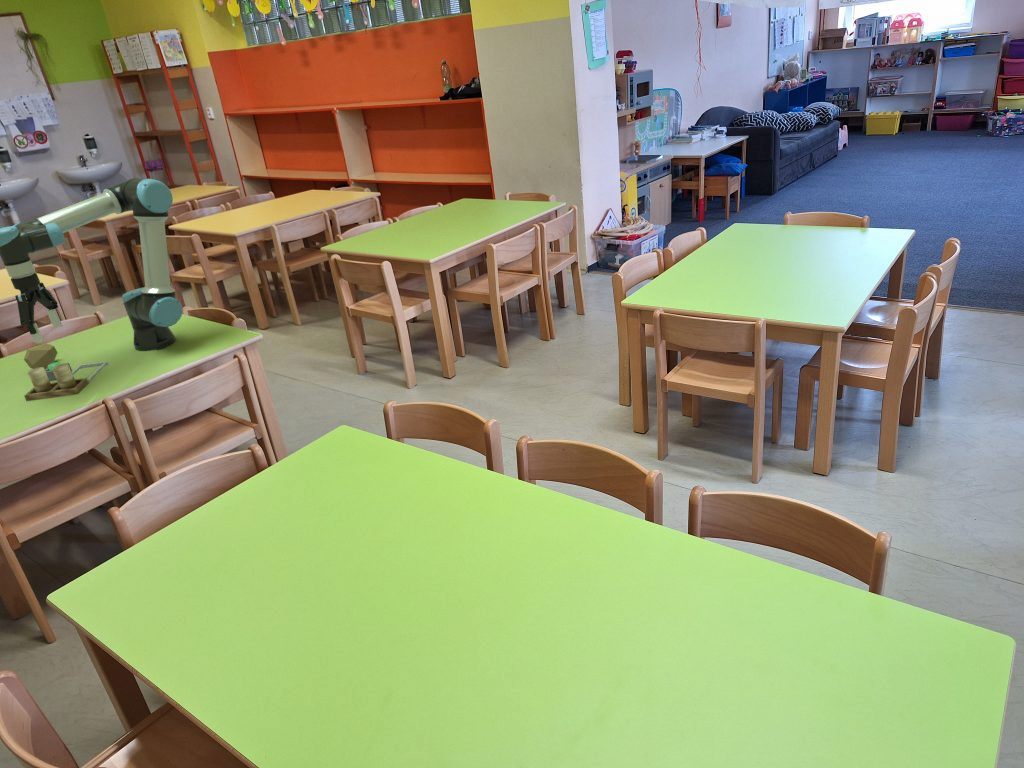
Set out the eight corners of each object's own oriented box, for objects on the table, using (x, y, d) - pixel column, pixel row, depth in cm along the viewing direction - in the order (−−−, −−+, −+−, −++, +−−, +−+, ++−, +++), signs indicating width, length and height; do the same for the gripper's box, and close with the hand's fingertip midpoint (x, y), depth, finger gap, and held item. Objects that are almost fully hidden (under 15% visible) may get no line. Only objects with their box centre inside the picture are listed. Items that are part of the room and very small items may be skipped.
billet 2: (80, 386, 255) (71, 363, 251) (74, 392, 250) (64, 368, 246) (66, 387, 255) (56, 365, 251) (59, 394, 250) (49, 370, 246)
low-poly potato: (43, 377, 270) (67, 354, 274) (17, 358, 265) (41, 335, 269) (42, 376, 282) (65, 355, 286) (17, 358, 277) (40, 336, 281)
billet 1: (56, 389, 254) (46, 366, 250) (49, 395, 250) (39, 372, 246) (42, 391, 254) (32, 368, 250) (35, 397, 250) (24, 374, 246)
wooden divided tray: (89, 385, 257) (86, 377, 256) (78, 396, 249) (75, 388, 248) (40, 391, 256) (37, 384, 255) (27, 403, 248) (24, 395, 247)
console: (73, 373, 269) (68, 362, 267) (64, 381, 263) (59, 370, 261) (54, 376, 269) (49, 365, 267) (45, 384, 263) (40, 373, 261)
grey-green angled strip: (108, 365, 273) (107, 361, 272) (90, 383, 258) (88, 379, 257) (81, 369, 273) (79, 365, 272) (60, 387, 258) (59, 383, 257)
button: (66, 374, 267) (60, 361, 265) (61, 379, 264) (55, 365, 262) (56, 376, 267) (50, 362, 265) (51, 380, 264) (45, 367, 262)
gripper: (30, 265, 246) (54, 322, 255) (-10, 288, 224) (19, 350, 233) (52, 262, 246) (76, 319, 256) (15, 285, 224) (42, 347, 233)
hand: (49, 334), depth 245 cm, fingers open, 13 cm apart
